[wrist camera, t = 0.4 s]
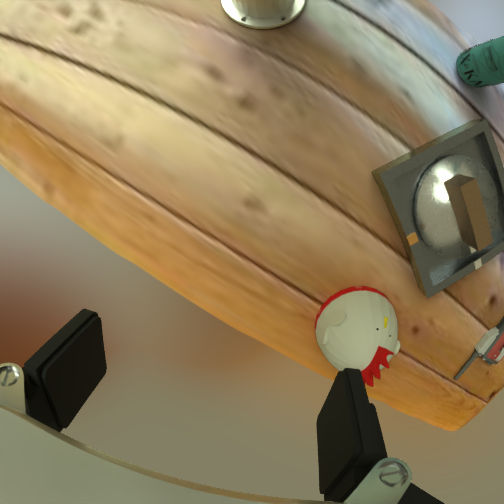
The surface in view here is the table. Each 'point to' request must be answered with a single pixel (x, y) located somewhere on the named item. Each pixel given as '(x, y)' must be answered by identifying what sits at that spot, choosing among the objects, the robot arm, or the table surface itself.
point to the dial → (456, 207)
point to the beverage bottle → (483, 64)
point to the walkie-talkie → (488, 347)
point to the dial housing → (404, 191)
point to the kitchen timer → (358, 331)
